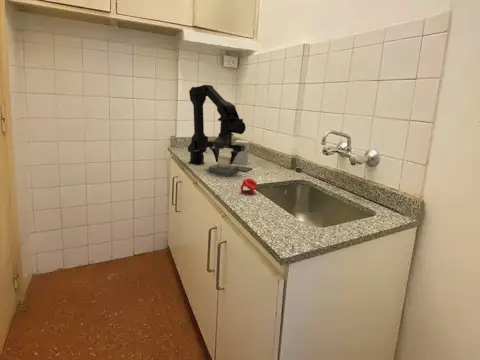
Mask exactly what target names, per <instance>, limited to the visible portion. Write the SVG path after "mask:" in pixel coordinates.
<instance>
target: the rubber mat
mask: <svg viewBox="0 0 480 360" xmlns="http://www.w3.org/2000/svg"><path fill="white" fill-rule="evenodd" d="M238 166H239V169H238V172H240V173H241V172H242V173H248V172H250V171H253V167H247V166H241V165H238Z"/></svg>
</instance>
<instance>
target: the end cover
mask: <svg viewBox="0 0 480 360" xmlns="http://www.w3.org/2000/svg"><path fill="white" fill-rule="evenodd" d="M217 164H218V167H220V168H230V167H231V156H226V155H225V156H224V155H223V156H222V155H221V156H220V155H219V157H218V162H217Z"/></svg>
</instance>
